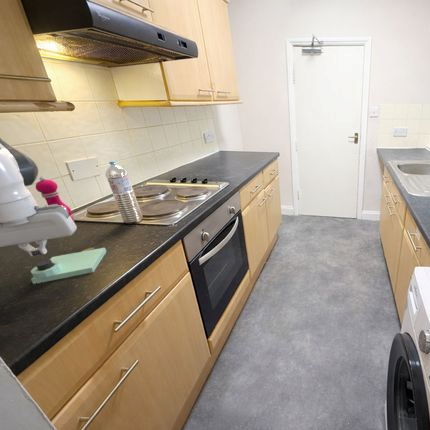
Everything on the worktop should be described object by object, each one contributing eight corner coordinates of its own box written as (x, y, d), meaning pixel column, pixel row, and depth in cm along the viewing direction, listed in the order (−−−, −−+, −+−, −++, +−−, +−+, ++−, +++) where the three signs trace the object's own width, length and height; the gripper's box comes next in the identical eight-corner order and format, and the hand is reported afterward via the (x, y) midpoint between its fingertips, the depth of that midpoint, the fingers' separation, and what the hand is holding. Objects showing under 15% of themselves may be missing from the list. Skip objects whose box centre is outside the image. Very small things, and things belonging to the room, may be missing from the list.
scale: (32, 285, 74) (25, 275, 72) (54, 261, 84) (49, 252, 83) (93, 273, 78) (88, 263, 77) (106, 251, 89) (102, 242, 87)
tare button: (36, 272, 74) (33, 267, 73) (42, 266, 77) (39, 261, 76) (50, 269, 75) (47, 264, 74) (56, 263, 78) (53, 258, 77)
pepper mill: (51, 223, 110) (28, 176, 101) (74, 217, 114) (53, 172, 106) (53, 228, 105) (28, 180, 97) (77, 222, 110) (55, 176, 101)
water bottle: (122, 220, 110) (99, 161, 100) (141, 215, 114) (121, 158, 104) (125, 226, 106) (101, 164, 95) (145, 220, 110) (124, 161, 99)
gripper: (68, 198, 74) (88, 241, 80) (-31, 211, 68) (-1, 256, 74) (58, 207, 69) (80, 251, 75) (-51, 221, 62) (-17, 269, 68)
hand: (39, 254), depth 74 cm, fingers closed
